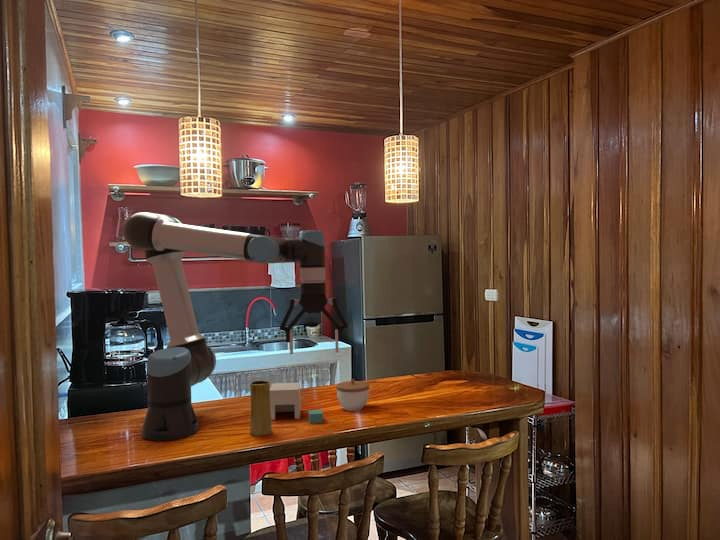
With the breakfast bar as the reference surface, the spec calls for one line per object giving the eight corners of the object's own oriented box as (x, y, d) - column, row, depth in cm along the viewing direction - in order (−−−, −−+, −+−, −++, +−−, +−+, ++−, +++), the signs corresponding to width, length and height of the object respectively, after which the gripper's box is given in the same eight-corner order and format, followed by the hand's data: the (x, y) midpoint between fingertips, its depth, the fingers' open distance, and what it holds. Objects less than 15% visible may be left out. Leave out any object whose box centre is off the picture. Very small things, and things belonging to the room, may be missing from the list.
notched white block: (272, 411, 166) (271, 383, 166) (300, 410, 167) (300, 382, 167) (270, 419, 157) (269, 390, 157) (299, 418, 158) (299, 389, 158)
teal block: (308, 420, 157) (308, 410, 157) (321, 419, 158) (321, 409, 157) (309, 424, 153) (309, 414, 153) (323, 423, 154) (322, 413, 154)
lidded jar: (366, 413, 162) (365, 384, 162) (333, 412, 164) (332, 383, 164) (372, 404, 172) (371, 376, 172) (341, 403, 174) (340, 375, 174)
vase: (246, 435, 143) (245, 384, 143) (254, 428, 149) (253, 379, 149) (268, 436, 142) (267, 385, 142) (274, 429, 148) (273, 380, 148)
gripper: (353, 280, 159) (354, 349, 160) (271, 282, 157) (273, 351, 157) (355, 281, 152) (356, 353, 152) (269, 283, 150) (271, 356, 150)
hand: (314, 352), depth 155 cm, fingers open, 13 cm apart
